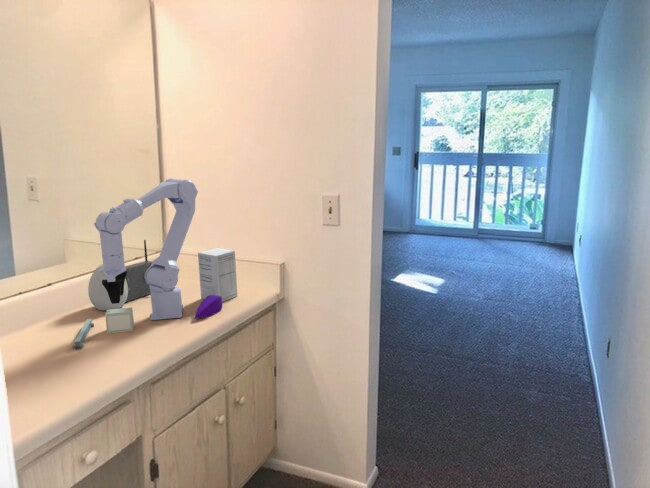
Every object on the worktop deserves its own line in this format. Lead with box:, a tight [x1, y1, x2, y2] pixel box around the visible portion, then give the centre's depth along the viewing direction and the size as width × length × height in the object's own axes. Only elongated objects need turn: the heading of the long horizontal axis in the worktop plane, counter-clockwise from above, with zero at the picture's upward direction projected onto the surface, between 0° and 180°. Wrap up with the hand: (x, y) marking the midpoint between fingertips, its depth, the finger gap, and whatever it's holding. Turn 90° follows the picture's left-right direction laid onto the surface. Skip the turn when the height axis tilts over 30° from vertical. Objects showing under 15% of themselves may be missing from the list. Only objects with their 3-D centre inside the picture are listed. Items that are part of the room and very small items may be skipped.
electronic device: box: [125, 239, 153, 303], centre depth 179 cm, size 17×7×20 cm, turn 151°
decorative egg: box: [87, 263, 128, 311], centre depth 171 cm, size 12×12×15 cm
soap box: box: [104, 307, 135, 334], centre depth 151 cm, size 7×4×6 cm, turn 105°
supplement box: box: [197, 247, 238, 303], centre depth 179 cm, size 10×9×17 cm
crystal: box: [194, 295, 223, 319], centre depth 164 cm, size 5×5×15 cm
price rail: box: [72, 318, 95, 350], centre depth 146 cm, size 2×18×2 cm, turn 15°
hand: (117, 299), depth 150 cm, fingers open, 7 cm apart
